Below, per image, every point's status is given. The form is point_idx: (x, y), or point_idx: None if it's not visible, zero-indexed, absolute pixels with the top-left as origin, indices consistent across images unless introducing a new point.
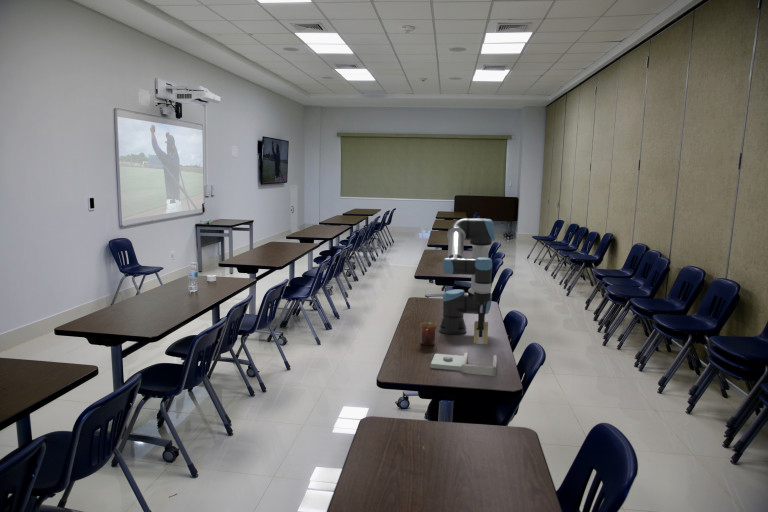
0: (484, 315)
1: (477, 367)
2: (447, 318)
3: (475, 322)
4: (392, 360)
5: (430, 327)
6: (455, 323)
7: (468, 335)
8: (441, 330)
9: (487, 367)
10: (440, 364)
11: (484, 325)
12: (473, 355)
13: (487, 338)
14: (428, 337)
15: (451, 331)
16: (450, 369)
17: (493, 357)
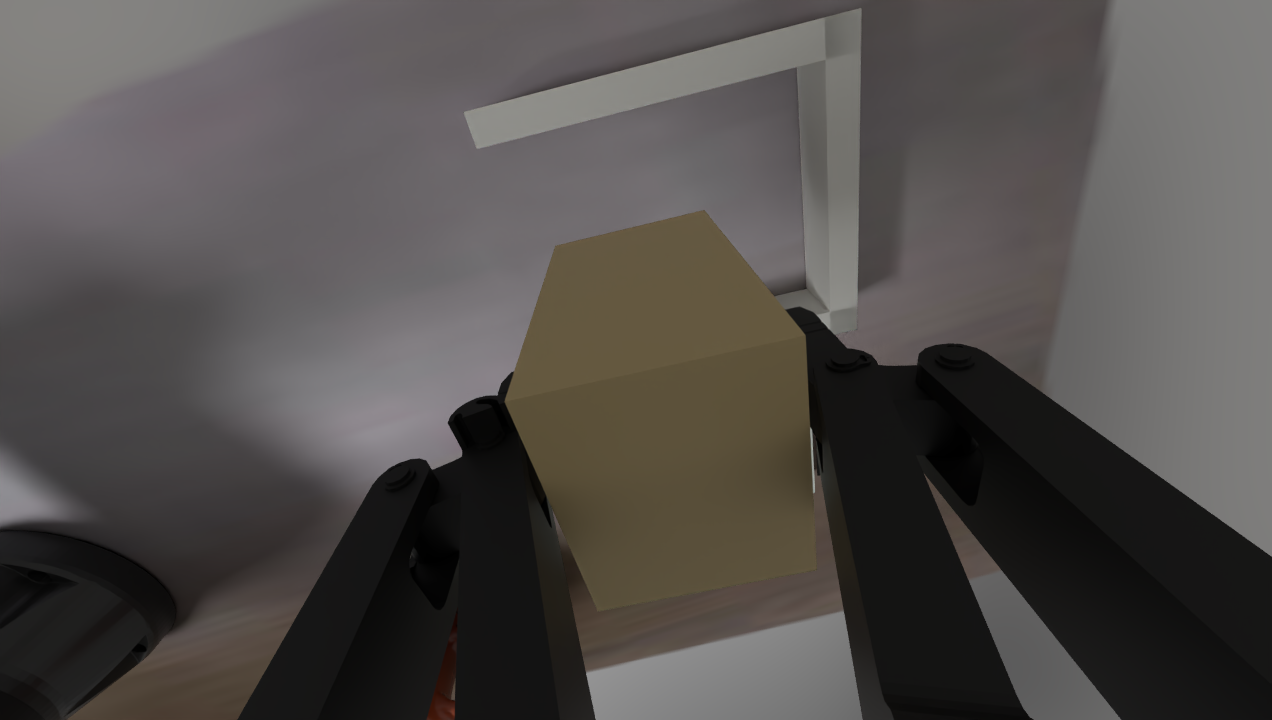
0: (539, 650)
1: (854, 203)
2: (49, 714)
3: (687, 585)
4: (763, 623)
5: (429, 717)
6: (37, 640)
7: (45, 495)
8: (164, 634)
9: (858, 108)
10: (811, 448)
11: (803, 398)
12: (442, 337)
13: (610, 248)
14: (452, 644)
15: (134, 594)
16: None
17: (549, 130)
